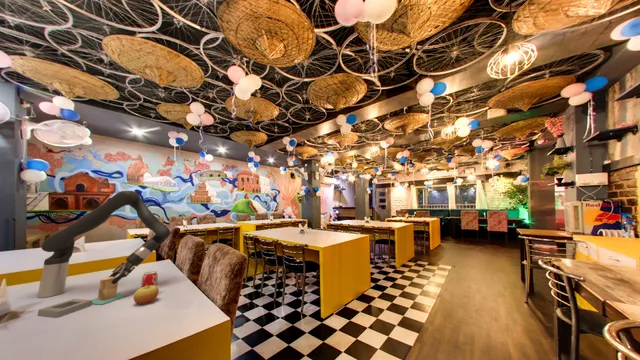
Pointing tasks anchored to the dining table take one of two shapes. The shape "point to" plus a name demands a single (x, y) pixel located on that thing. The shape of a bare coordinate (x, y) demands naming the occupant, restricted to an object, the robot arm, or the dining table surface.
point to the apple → (146, 294)
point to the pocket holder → (64, 308)
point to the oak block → (107, 289)
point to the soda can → (149, 279)
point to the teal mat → (102, 302)
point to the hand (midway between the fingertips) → (109, 282)
